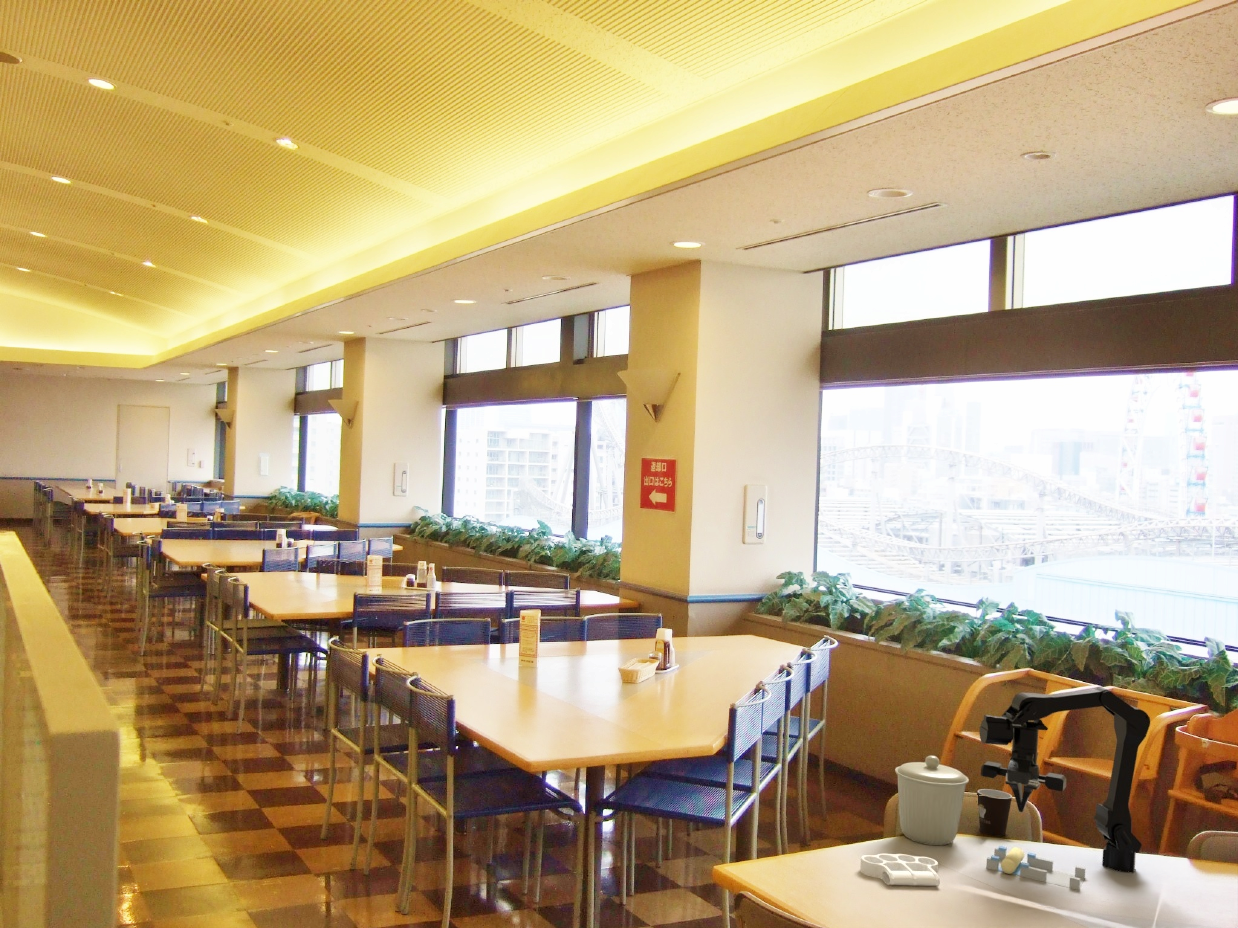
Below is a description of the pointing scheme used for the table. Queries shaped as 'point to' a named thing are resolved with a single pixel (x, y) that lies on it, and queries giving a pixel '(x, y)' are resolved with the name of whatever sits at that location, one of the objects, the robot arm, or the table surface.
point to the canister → (930, 800)
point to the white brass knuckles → (901, 869)
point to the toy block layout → (1038, 870)
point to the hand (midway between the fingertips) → (1021, 811)
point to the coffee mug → (993, 811)
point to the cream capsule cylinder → (1012, 860)
